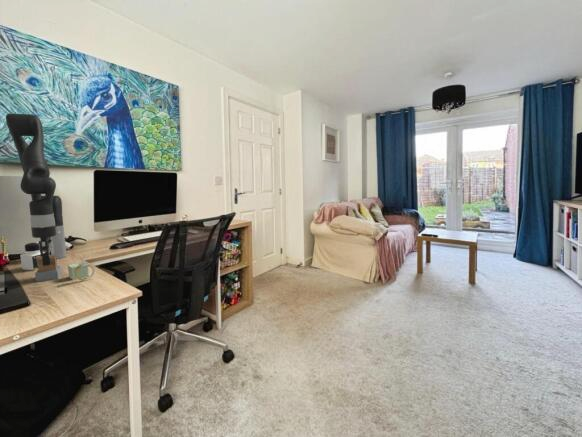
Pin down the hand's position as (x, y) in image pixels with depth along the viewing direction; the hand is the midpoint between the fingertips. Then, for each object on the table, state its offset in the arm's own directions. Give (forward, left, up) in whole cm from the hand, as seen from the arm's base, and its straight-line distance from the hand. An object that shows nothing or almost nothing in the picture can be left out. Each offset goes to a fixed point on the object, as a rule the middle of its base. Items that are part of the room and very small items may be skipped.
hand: (47, 262), depth 115 cm
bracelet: (+13, +12, -7) cm, 19 cm away
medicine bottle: (-21, -6, -7) cm, 23 cm away
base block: (0, 0, -7) cm, 7 cm away
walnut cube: (0, 0, -3) cm, 3 cm away
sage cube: (+6, +10, -7) cm, 13 cm away
